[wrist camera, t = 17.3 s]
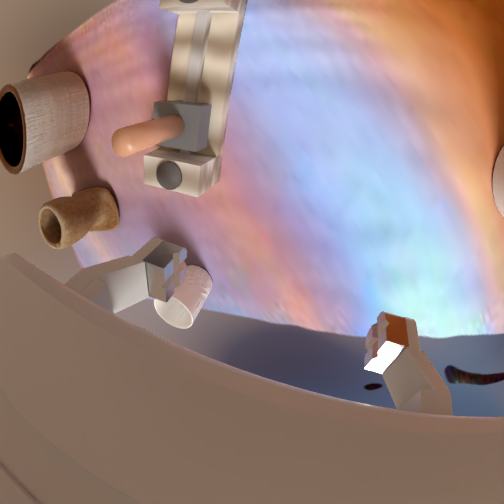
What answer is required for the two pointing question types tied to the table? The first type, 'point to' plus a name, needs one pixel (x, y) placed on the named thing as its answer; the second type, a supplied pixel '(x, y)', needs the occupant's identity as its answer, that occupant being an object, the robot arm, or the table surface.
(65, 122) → the planter
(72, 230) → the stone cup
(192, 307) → the white cup
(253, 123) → the table surface
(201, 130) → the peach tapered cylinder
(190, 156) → the rail track
